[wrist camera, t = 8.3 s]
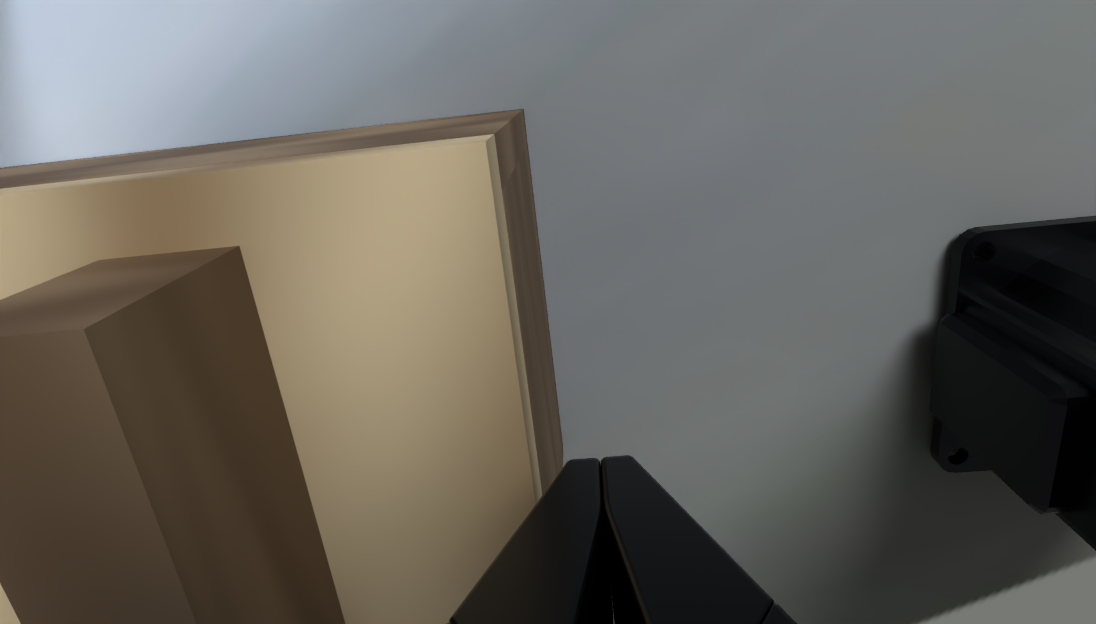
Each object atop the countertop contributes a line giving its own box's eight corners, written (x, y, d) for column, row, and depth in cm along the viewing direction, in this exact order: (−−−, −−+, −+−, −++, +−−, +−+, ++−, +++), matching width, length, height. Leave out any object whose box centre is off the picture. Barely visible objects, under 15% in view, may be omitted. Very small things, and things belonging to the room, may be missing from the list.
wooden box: (523, 108, 15) (494, 133, 9) (563, 448, 18) (559, 622, 12) (-126, 182, 16) (-505, 243, 10) (17, 490, 19) (-214, 667, 13)
